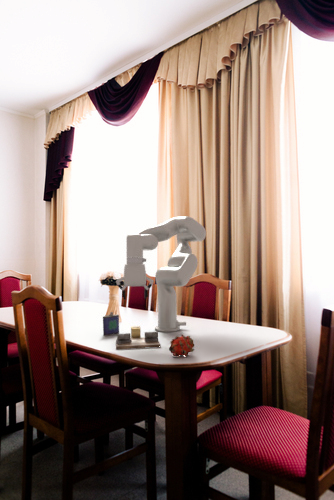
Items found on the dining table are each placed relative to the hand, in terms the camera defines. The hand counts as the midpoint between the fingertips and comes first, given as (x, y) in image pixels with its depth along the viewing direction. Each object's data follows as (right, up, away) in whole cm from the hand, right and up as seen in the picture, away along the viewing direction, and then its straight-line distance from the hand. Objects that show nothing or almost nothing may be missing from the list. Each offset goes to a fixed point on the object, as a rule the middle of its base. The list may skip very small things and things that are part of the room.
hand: (135, 298), depth 172 cm
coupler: (0, -18, 0) cm, 18 cm away
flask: (-12, -19, +10) cm, 24 cm away
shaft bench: (+2, -18, -11) cm, 21 cm away
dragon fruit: (+20, -18, -31) cm, 41 cm away
